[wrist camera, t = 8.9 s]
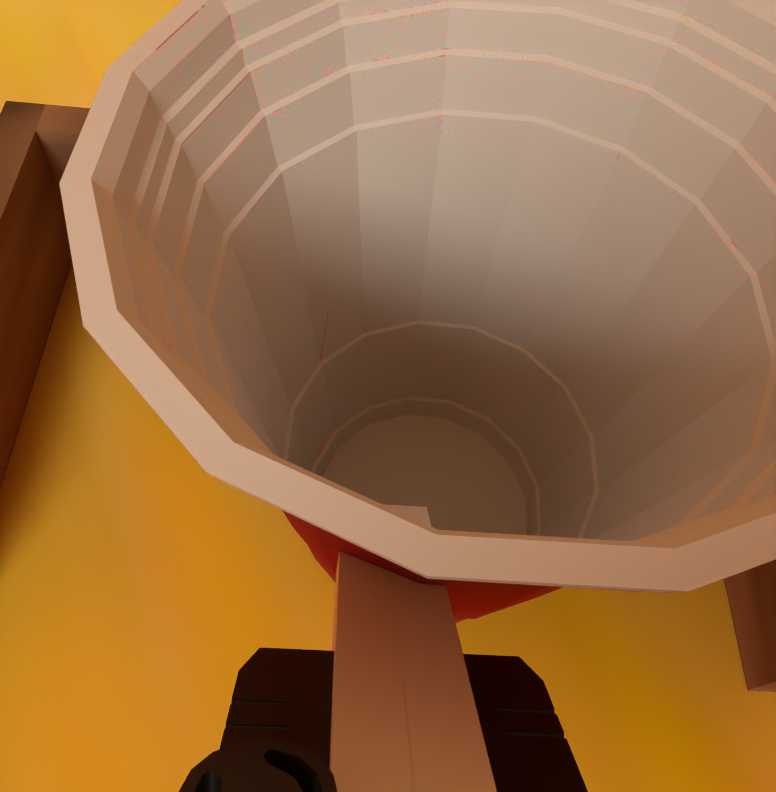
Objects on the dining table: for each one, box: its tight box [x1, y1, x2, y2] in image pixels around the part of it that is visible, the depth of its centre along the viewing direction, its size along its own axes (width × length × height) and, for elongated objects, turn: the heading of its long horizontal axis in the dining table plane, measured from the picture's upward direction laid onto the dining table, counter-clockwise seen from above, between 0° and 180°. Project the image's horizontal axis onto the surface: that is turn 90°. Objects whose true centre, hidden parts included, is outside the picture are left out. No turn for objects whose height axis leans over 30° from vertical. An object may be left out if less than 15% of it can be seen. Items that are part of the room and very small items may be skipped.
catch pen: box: [0, 101, 776, 692], centre depth 18 cm, size 20×13×4 cm, turn 88°
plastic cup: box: [59, 0, 776, 623], centre depth 14 cm, size 11×11×12 cm
